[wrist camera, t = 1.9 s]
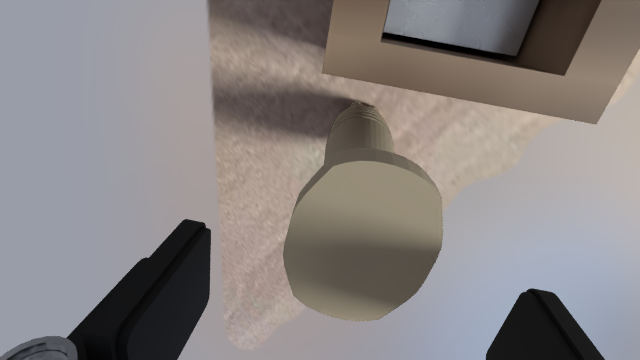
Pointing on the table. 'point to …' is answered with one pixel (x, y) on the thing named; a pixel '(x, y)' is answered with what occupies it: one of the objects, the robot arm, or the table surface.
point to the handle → (362, 224)
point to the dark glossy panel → (463, 22)
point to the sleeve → (498, 57)
